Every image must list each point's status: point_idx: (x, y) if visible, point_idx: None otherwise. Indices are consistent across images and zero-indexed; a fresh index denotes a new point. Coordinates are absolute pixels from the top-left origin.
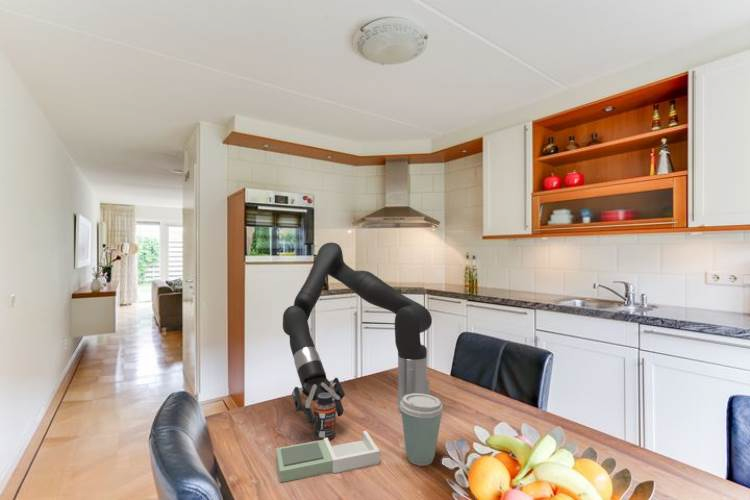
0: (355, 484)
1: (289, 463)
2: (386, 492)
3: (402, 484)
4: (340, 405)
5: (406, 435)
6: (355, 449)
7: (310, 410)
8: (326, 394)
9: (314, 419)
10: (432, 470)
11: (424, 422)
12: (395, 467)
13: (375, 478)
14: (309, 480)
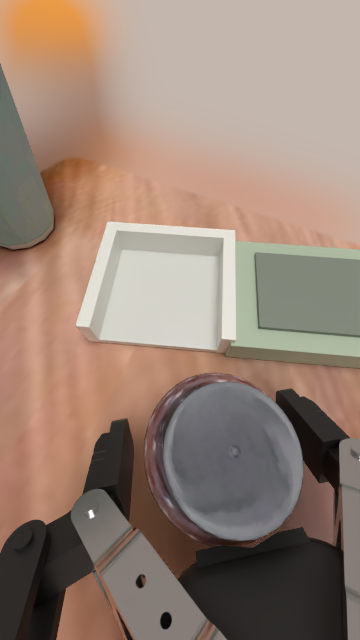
0: (195, 213)
1: (349, 259)
2: (152, 182)
3: (115, 186)
4: (101, 463)
5: (29, 161)
6: (143, 303)
7: (321, 427)
8: (214, 464)
9: (281, 392)
10: None
11: None
12: (94, 224)
13: (151, 213)
14: None
